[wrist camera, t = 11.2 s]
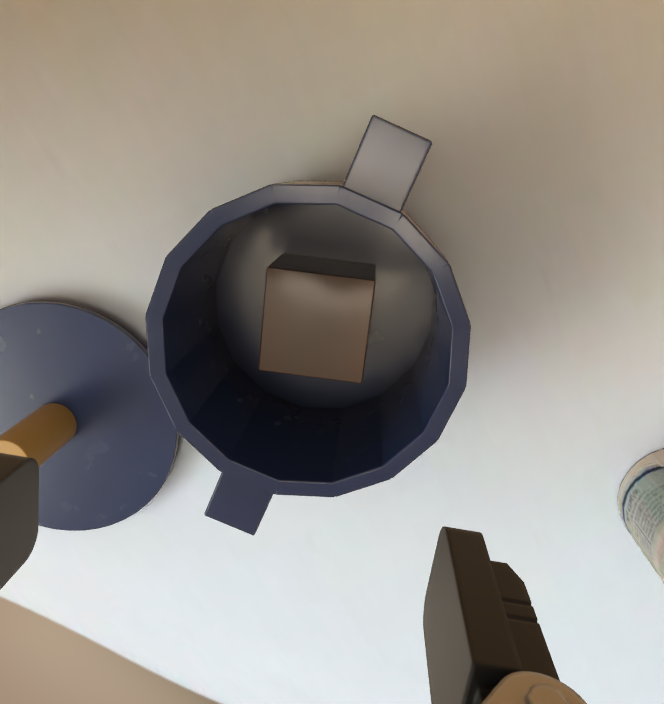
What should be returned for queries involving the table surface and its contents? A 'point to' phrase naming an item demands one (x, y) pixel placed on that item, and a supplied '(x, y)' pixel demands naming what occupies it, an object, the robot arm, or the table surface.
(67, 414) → the lid
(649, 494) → the spray can
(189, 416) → the pot
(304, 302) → the block
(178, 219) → the table surface
